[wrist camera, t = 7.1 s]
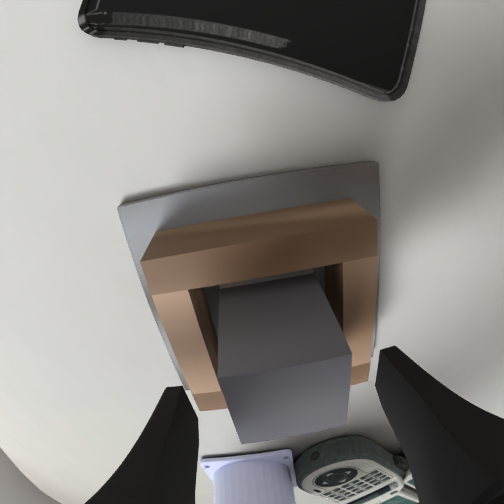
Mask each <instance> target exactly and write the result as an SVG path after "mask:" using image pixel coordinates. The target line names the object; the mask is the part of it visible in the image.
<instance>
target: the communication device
mask: <svg viewBox="0 0 504 504" xmlns="http://www.w3.org/2000/svg"><path fill="white" fill-rule="evenodd" d="M294 467H295V475H296V483H297V486H298V487H299V488H300V489H302V490H304V491H306V492H308V493H311V494H314V495H316V496H320V497H322V498H325V499H328V500H331V501H334V502H337V503H339V504H419V500H418V496H417V492H416V489H415V485H414V481H413V478H412V475H411V471H410V468H409V465H408V462H407V459H406V457H404V458H403V457H401V456H394V455H392V454H391V453H389V452H388V451H386V450H385V449H383V448H382V447H380V446H379V445H378V444H376V443H375V442H373V441H372V440H370V439H367V438H364V437H362V436H355V435H350V436H342V437H337V438H333V439H329V440H326V441H323V442H321V443H318V444H316V445H314V446H312V447H310V448H309V449H307V450H306V451H305V452H304V453H303V454H302V455H301V456H300V457H299V458H298V459H297V461H296V463H295V466H294Z"/></svg>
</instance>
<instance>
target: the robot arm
mask: <svg viewBox="0 0 504 504" xmlns="http://www.w3.org/2000/svg"><path fill="white" fill-rule="evenodd" d="M375 387H376V390H377V393H378V396H379V399H380V402H381V405H382V408H383V410H384V412H385V414H386V416H387V418H388V420H389V422H390V425H391V427H392V429H393V431H394V433H395V435H396V437H397V439H398V441H399V443H400V445H401V447H402V450H403V452H404V454H405V457H406V459H407V462H408V465H409V468H410V471H411V475H412V478H413V481H414V485H415V489H416V492H417V496H418V500H419V504H504V419H503V418H500V417H498V416H496V415H494V414H491V413H489V412H487V411H485V410H483V409H481V408H479V407H477V406H475V405H473V404H472V403H470V402H468V401H466V400H465V399H463V398H462V397H460V396H458V395H457V394H455V393H454V392H453V391H451V390H450V389H448V388H447V387H445V386H444V385H443V384H441V383H440V382H439V381H437V380H436V379H435V378H434V377H432V376H431V375H430V374H428V373H427V372H426V371H425V370H423V369H422V368H421V367H420V366H419V365H417V364H416V363H415V362H414V361H413V360H411V359H410V358H409V357H408V356H407V355H406V354H404V353H403V352H402V351H401V350H400V349H399V348H397V347H396V346H392V347H389V348H385V349H382V350H380V355H379V363H378V370H377V376H376V383H375ZM198 448H199V430H198V417H197V415H196V413H195V411H194V409H193V407H192V405H191V403H190V401H189V399H188V397H187V394H186V392H185V390H184V388H183V386H176V387H167V388H166V389H165V390H164V392H163V394H162V396H161V398H160V400H159V402H158V404H157V406H156V408H155V410H154V412H153V414H152V416H151V417H150V419H149V421H148V423H147V425H146V426H145V428H144V430H143V432H142V433H141V435H140V437H139V438H138V440H137V441H136V443H135V445H134V446H133V448H132V449H131V451H130V452H129V454H128V455H127V457H126V458H125V460H124V461H123V462H122V464H121V465H120V466H119V468H118V469H117V470H116V471H115V473H114V474H113V475H112V476H111V477H110V478H109V480H108V481H107V482H106V483H105V484H104V485H103V486H102V487H101V488H100V490H99V491H98V492H97V493H96V494H94V495H93V496H92V497H91V498H90V499H89V500H88V501H87V502H86V503H85V504H195V486H196V473H197V461H198ZM200 465H201V467H202V468H203V469H204V471H205V472H206V474H207V475H208V477H209V478H210V479H211V481H212V482H213V504H296V502H295V496H294V490H293V489H295V488H296V487H297V483H296V477H295V470H294V463H293V457H292V451H291V450H290V449H284V450H278V451H272V452H265V453H257V454H250V455H241V456H231V457H220V458H207V459H201V460H200Z"/></svg>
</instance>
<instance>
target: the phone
mask: <svg viewBox="0 0 504 504" xmlns="http://www.w3.org/2000/svg"><path fill="white" fill-rule="evenodd" d="M425 3H426V0H83V1H82V4H81V7H80V10H79V14H78V24H79V26H80V28H81V30H82V31H84V32H85V33H87V34H89V35H91V36H94V37H98V38H114V39H115V40H127V39H131V40H137V41H138V42H147V43H156V44H159V42H161V43H164V45H169V46H176V47H183V48H184V46H190V47H196V48H201V49H207V50H212V51H218V52H222V53H227V54H232V55H237V56H241V57H245V58H249V59H254V60H258V61H261V62H265V63H269V64H273V65H276V66H280V67H283V68H287V69H290V70H294V71H297V72H300V73H303V74H306V75H309V76H313V77H316V78H319V79H321V80H324V81H327V82H330V83H333V84H336V85H338V86H341V87H344V88H346V89H349V90H352V91H354V92H357V93H359V94H362V95H364V96H367V97H369V98H371V99H374V100H378V101H394V100H396V99H398V98H400V97H401V96H402V95H403V94H404V93H405V91H406V88H407V86H408V82H409V78H410V74H411V70H412V66H413V62H414V57H415V53H416V48H417V44H418V39H419V34H420V30H421V25H422V20H423V14H424V9H425Z"/></svg>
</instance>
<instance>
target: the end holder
mask: <svg viewBox="0 0 504 504" xmlns="http://www.w3.org/2000/svg"><path fill="white" fill-rule="evenodd" d="M117 210H118V213H119V217H120V220H121V223H122V227H123V230H124V233H125V236H126V240H127V243H128V246H129V249H130V252H131V255H132V258H133V261H134V264H135V267H136V270H137V273H138V275H139V278H140V281H141V284H142V287H143V289H144V292H145V295H146V297H147V300H148V303H149V305H150V308H151V311H152V313H153V316H154V318H155V321H156V323H157V326H158V328H159V331H160V333H161V336H162V338H163V341H164V343H165V345H166V348H167V350H168V353H169V355H170V357H171V359H172V362H173V364H174V366H175V369H176V371H177V373H178V375H179V377H180V380H181V382H182V384H183V386H184V388H185V390H190V391H191V393H192V395H193V397H194V400H195V402H196V404H197V406H198V408H199V410H200V411H208V410H217V409H226V408H228V406H227V404H226V401H225V398H224V395H223V392H222V389H221V386H220V384H219V381H218V323H219V286H220V284H226V283H232V282H238V281H244V280H250V279H255V278H261V277H267V276H272V275H278V274H284V273H289V272H295V271H300V270H306V269H311V268H312V269H313V271H314V273H315V275H316V277H317V280H318V282H319V284H320V286H321V288H322V290H323V292H324V294H325V296H326V298H327V300H328V302H329V304H330V307H331V309H332V311H333V313H334V315H335V317H336V319H337V321H338V323H339V326H340V328H341V330H342V332H343V334H344V336H345V339H346V341H347V343H348V345H349V347H350V350H351V352H352V366H351V379H350V386H351V385H354V384H358V383H362V382H366V381H368V377H369V369H370V361H371V357H373V350H374V341H375V330H376V319H377V306H378V290H379V268H380V186H379V165H378V163H377V162H375V161H369V162H360V163H351V164H342V165H334V166H326V167H319V168H311V169H304V170H297V171H290V172H283V173H277V174H271V175H264V176H258V177H252V178H246V179H241V180H235V181H229V182H224V183H219V184H213V185H208V186H203V187H198V188H193V189H188V190H183V191H178V192H173V193H169V194H164V195H159V196H155V197H150V198H146V199H142V200H137V201H133V202H129V203H125V204H121V205H119V206H118V207H117Z"/></svg>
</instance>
